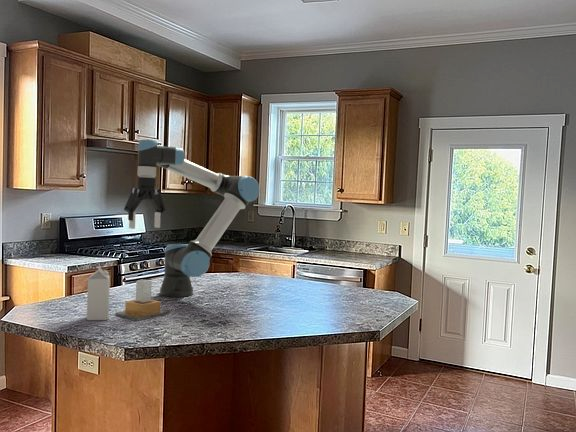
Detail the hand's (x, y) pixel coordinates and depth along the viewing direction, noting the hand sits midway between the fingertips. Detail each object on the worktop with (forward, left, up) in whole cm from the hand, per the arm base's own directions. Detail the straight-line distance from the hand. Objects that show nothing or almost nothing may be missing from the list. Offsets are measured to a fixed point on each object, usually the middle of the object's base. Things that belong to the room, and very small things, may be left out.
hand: (144, 228), depth 218 cm
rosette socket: (+13, +15, -32) cm, 37 cm away
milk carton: (+28, +8, -32) cm, 43 cm away
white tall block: (+13, +15, -31) cm, 37 cm away
